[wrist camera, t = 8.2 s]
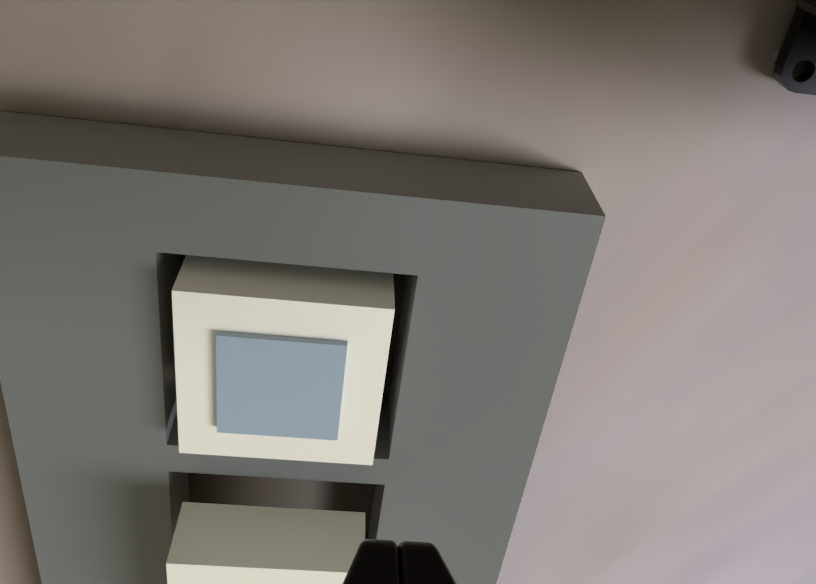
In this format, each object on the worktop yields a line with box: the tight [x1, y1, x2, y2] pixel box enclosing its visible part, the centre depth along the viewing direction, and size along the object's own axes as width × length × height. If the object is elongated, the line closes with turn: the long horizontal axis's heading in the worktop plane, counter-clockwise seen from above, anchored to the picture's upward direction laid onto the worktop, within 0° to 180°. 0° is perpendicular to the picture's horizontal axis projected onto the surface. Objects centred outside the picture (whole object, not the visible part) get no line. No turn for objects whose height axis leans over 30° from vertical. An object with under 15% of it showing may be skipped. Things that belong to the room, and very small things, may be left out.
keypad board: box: [0, 111, 606, 584], centre depth 24 cm, size 14×24×2 cm, turn 173°
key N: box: [172, 255, 395, 465], centre depth 19 cm, size 5×5×2 cm
